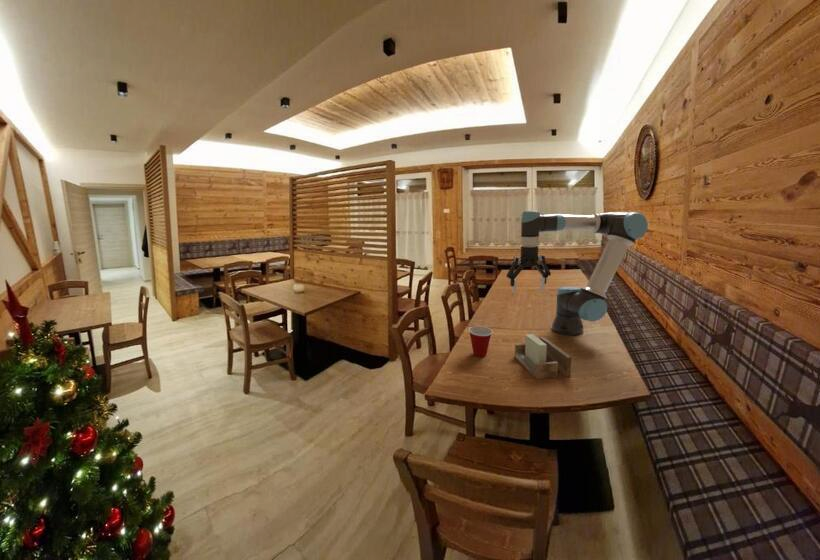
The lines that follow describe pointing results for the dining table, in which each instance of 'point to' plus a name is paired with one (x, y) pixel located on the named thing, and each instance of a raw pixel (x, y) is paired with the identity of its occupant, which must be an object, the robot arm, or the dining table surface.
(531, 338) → the door panel
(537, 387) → the dining table surface
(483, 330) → the plastic cup
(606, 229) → the robot arm
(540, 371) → the track
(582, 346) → the dining table surface
